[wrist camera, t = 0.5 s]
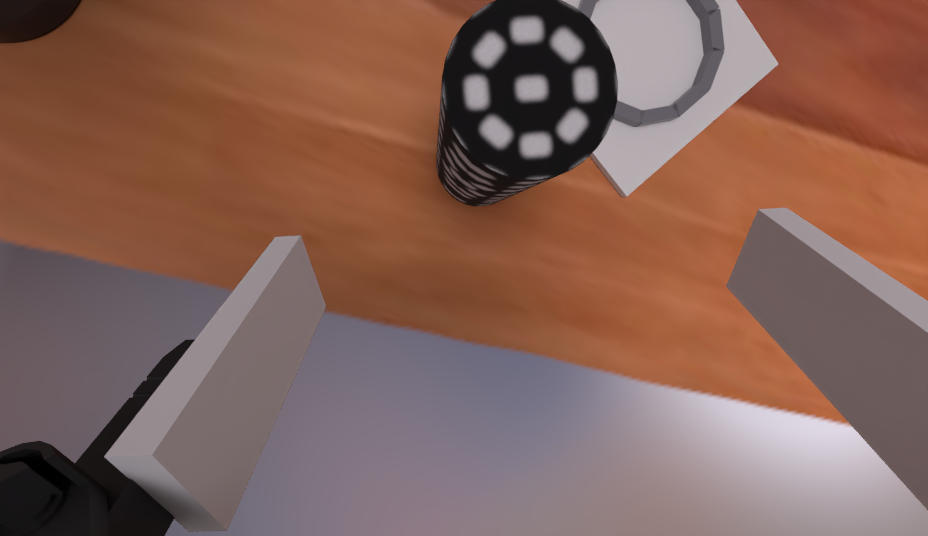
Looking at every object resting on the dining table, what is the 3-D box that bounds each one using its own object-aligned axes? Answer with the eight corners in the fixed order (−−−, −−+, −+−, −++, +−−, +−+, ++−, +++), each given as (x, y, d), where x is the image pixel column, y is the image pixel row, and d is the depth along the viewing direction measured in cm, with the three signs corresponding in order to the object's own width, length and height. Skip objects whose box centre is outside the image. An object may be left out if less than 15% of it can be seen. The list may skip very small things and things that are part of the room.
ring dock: (495, 35, 37) (499, 23, 34) (654, -103, 37) (668, -124, 34) (621, 197, 39) (633, 195, 37) (769, 68, 39) (789, 58, 37)
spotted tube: (441, 210, 38) (451, 187, 18) (432, 123, 37) (432, -2, 17) (524, 202, 38) (622, 172, 19) (517, 116, 38) (612, -12, 18)
